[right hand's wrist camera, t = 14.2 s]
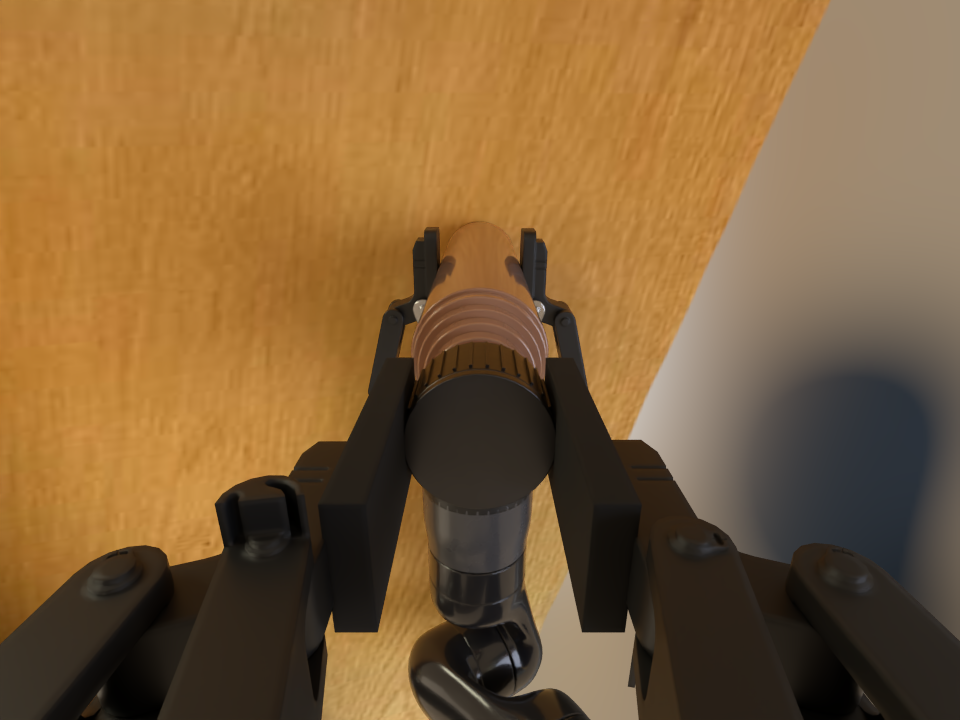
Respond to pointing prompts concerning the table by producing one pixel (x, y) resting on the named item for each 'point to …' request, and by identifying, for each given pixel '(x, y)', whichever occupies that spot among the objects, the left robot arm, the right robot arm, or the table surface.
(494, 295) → the bottle
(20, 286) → the table surface
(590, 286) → the table surface
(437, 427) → the cap
